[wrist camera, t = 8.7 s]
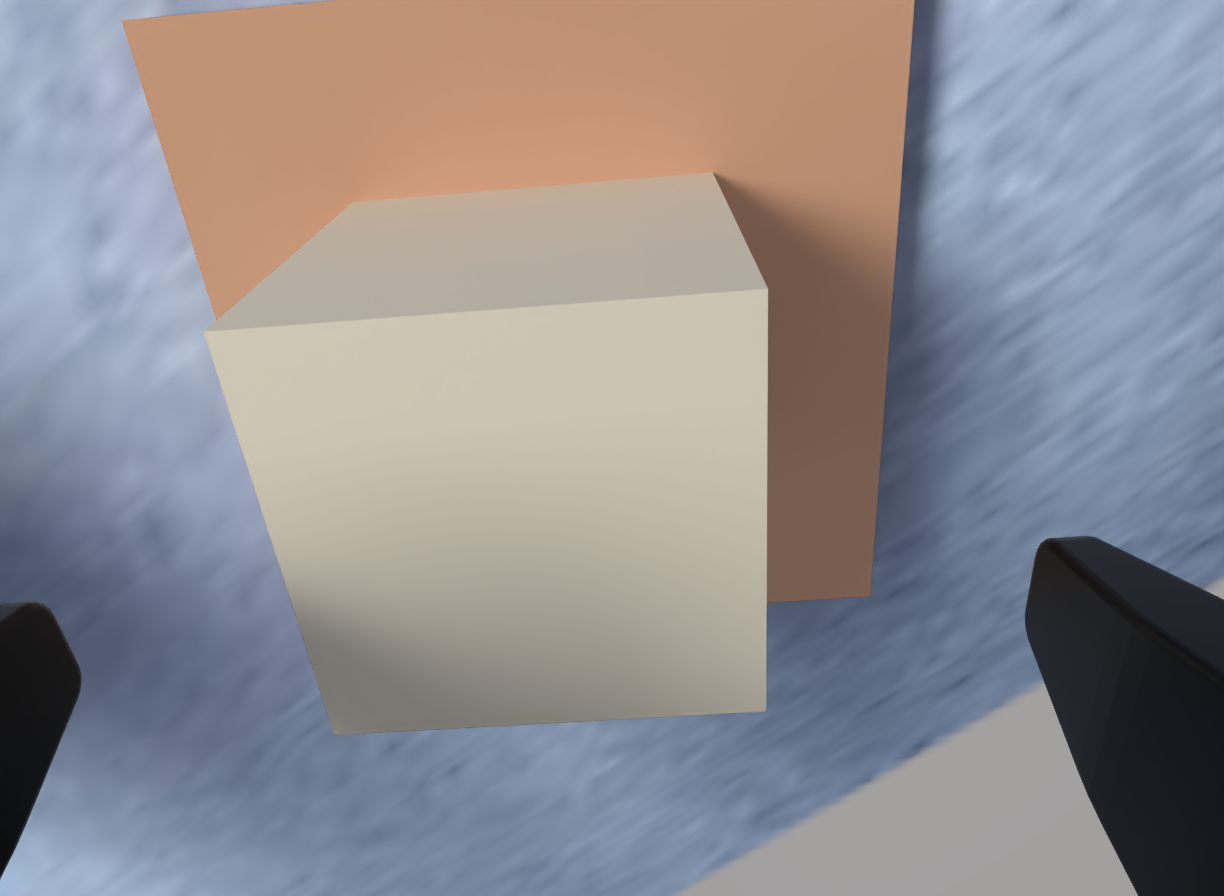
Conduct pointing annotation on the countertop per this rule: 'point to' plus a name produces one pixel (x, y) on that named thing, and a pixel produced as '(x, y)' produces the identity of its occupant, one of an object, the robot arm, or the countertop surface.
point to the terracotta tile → (585, 173)
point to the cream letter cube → (515, 454)
